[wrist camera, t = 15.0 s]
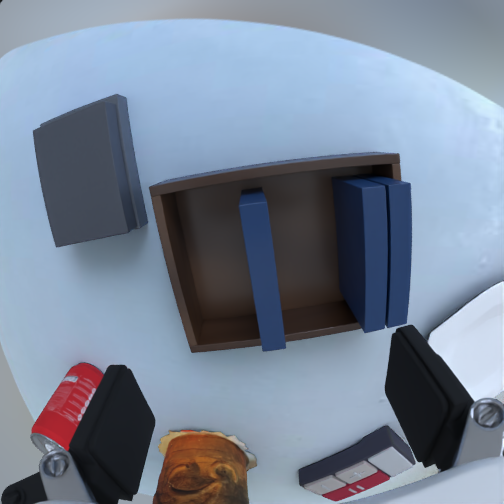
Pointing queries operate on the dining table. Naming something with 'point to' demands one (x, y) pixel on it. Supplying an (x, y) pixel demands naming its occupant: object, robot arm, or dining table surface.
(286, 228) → the book box
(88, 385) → the beverage can
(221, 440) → the vessel
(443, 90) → the dining table surface
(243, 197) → the blue book
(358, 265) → the blue books
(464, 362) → the plate
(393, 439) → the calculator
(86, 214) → the grey books
